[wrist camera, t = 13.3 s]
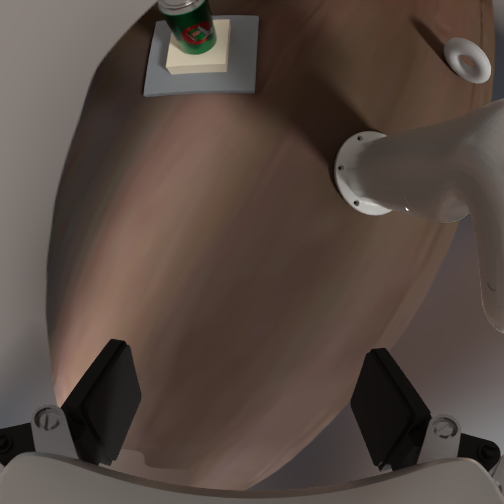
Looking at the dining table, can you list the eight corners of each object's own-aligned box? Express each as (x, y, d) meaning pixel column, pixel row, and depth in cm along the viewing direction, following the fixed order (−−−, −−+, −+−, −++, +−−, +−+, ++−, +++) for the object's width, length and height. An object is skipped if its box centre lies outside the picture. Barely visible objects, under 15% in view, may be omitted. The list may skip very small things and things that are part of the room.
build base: (258, 19, 30) (259, 5, 26) (254, 93, 34) (255, 84, 30) (158, 24, 30) (150, 12, 26) (146, 97, 33) (135, 89, 29)
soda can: (186, 27, 27) (164, -21, 15) (221, 29, 27) (211, -22, 16) (175, 55, 28) (148, 11, 17) (212, 58, 29) (196, 10, 17)
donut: (431, 52, 30) (462, 35, 21) (437, 44, 30) (466, 27, 20) (465, 90, 32) (499, 81, 22) (470, 81, 31) (502, 72, 22)
